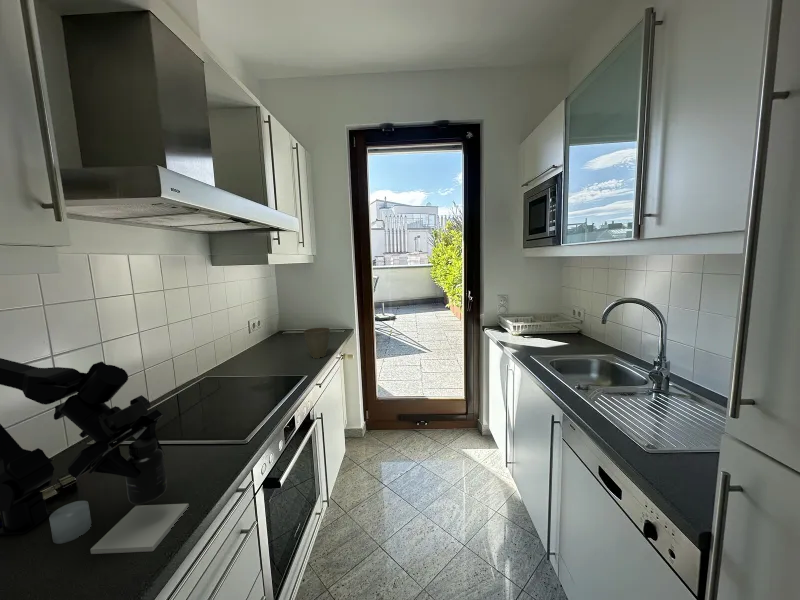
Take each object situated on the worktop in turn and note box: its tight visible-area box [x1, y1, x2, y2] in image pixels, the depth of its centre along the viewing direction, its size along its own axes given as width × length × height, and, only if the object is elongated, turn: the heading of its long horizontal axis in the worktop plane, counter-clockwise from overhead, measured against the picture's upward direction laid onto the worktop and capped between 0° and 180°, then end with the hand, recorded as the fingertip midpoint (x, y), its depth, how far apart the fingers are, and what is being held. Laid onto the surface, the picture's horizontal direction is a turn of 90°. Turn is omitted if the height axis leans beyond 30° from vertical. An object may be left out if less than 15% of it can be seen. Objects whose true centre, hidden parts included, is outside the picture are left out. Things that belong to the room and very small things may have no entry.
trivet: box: [90, 503, 190, 555], centre depth 74 cm, size 12×12×1 cm
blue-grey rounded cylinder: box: [48, 500, 92, 545], centre depth 73 cm, size 6×6×5 cm
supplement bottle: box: [125, 437, 168, 505], centre depth 74 cm, size 7×7×12 cm
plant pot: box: [303, 327, 331, 359], centre depth 200 cm, size 15×15×16 cm
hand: (150, 466), depth 74 cm, fingers closed on supplement bottle, 7 cm apart
